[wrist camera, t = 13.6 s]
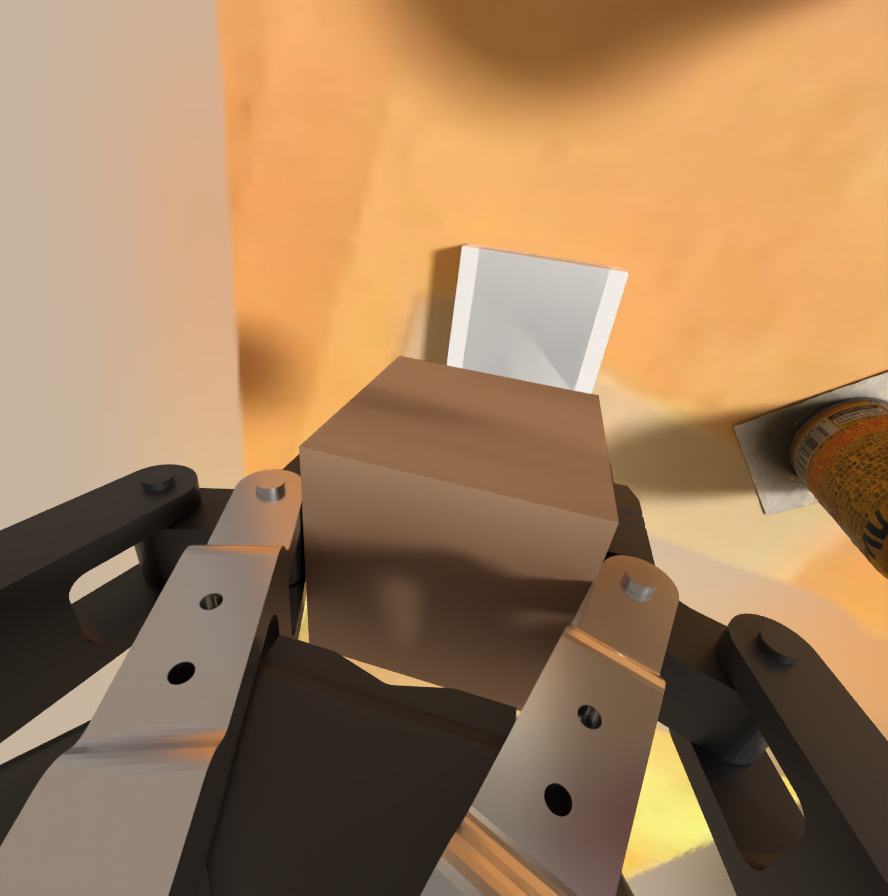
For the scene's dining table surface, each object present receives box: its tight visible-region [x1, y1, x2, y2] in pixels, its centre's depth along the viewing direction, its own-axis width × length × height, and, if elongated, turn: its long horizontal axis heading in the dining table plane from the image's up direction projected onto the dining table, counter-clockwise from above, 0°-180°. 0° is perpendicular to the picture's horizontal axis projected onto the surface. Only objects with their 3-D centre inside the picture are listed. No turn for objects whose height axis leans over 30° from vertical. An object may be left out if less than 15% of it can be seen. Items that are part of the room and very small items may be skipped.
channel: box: [447, 243, 629, 394], centre depth 30 cm, size 24×9×4 cm, turn 173°
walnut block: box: [299, 356, 619, 711], centre depth 10 cm, size 5×5×5 cm
